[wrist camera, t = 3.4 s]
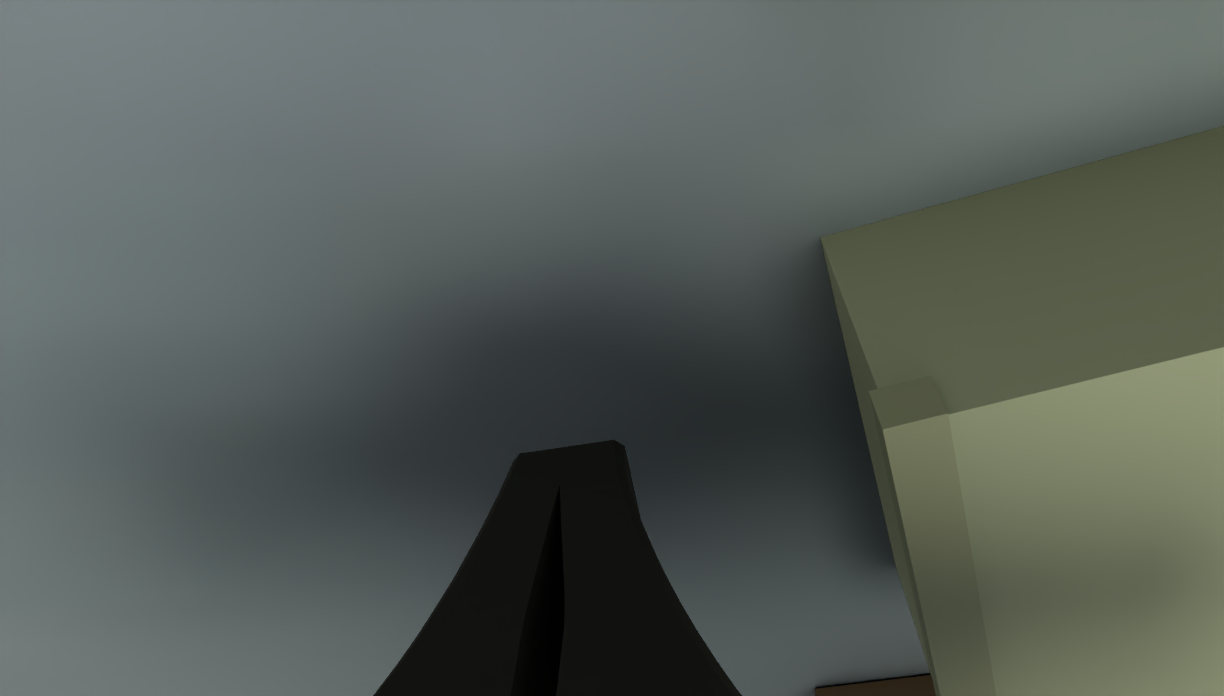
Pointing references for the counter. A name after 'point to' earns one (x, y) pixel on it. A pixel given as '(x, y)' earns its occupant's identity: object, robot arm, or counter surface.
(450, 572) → the counter surface
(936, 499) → the box
